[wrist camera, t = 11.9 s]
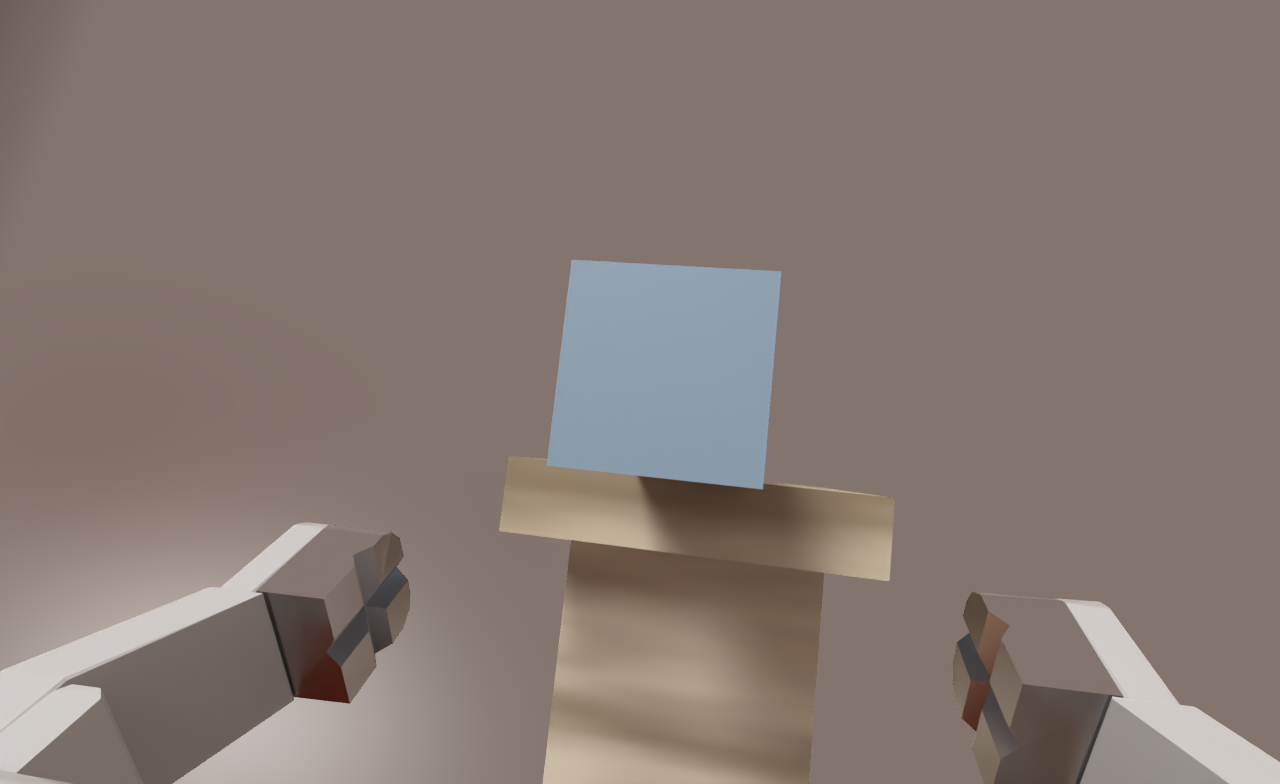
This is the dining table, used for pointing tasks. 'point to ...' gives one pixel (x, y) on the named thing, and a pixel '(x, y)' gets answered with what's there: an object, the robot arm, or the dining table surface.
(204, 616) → the robot arm
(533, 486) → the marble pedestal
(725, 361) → the block
